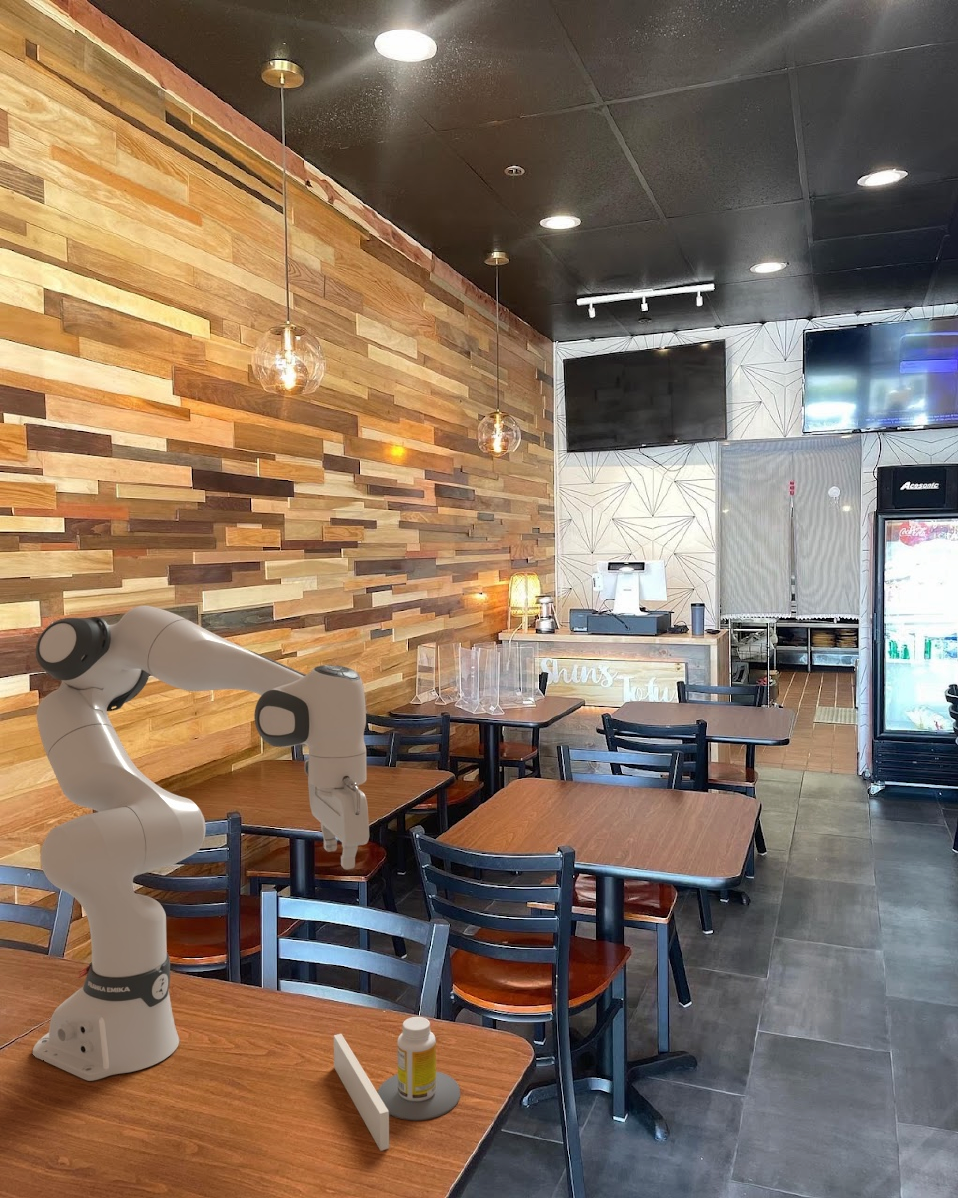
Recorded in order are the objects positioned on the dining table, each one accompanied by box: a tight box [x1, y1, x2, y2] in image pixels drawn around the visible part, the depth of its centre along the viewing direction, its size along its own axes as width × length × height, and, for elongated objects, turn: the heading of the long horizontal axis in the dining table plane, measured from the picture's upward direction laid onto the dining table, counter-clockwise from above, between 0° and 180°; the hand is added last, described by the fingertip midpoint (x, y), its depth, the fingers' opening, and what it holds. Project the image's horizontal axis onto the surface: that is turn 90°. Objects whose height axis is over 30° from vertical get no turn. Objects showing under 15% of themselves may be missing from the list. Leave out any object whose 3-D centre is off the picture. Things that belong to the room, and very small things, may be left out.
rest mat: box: [377, 1070, 461, 1121], centre depth 132 cm, size 12×12×1 cm
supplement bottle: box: [396, 1016, 437, 1102], centre depth 132 cm, size 6×6×10 cm
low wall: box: [333, 1033, 390, 1152], centre depth 130 cm, size 22×1×5 cm, turn 25°
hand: (338, 858), depth 142 cm, fingers open, 8 cm apart
